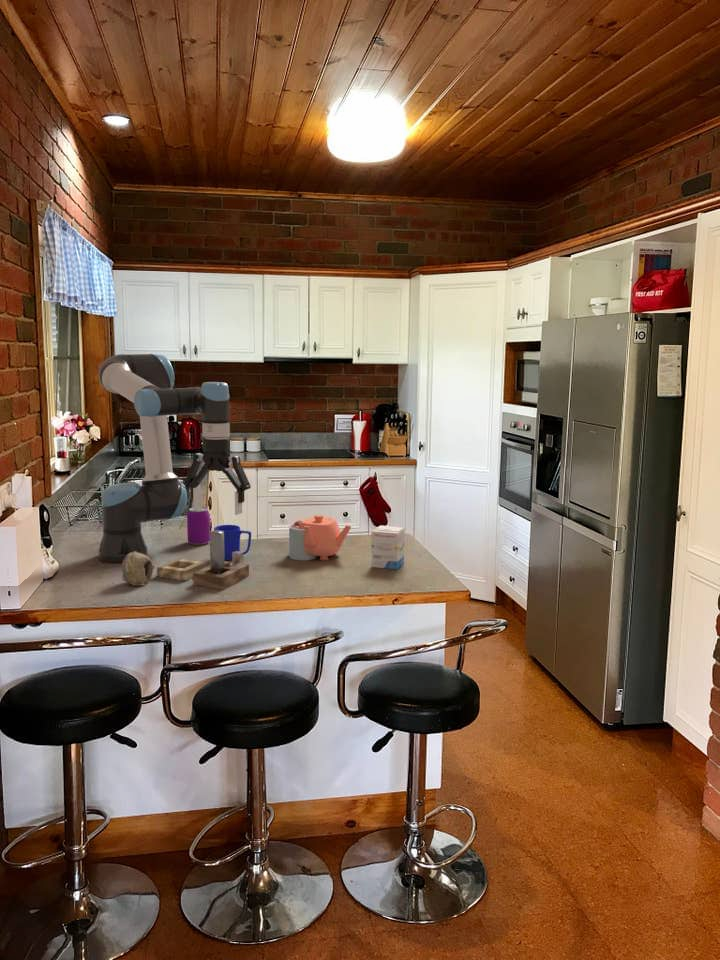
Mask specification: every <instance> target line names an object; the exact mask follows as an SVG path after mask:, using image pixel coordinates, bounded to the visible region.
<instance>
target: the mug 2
mask: <svg viewBox="0 0 720 960" xmlns="http://www.w3.org/2000/svg"><path fill="white" fill-rule="evenodd" d="M300 524H301V523H298V524H294V523H292V524H290V525H289V527H288V531H289V534H288V538H289V539H288V542H289V543H288V544H289V545H288V548H289V551H288V552H289V558H290V559H291V560H294V561H295V560H296V561H310V560H311V561H312V560H315V559H316V558H318V557H319V556H314V555H308V554H307V552H306V551H305V549H304V546H305V545H304V534H305V529H300V528H299V526H300Z"/></svg>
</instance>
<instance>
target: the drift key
mask: <svg viewBox="0 0 720 960" xmlns="http://www.w3.org/2000/svg"><path fill="white" fill-rule="evenodd" d="M240 551H241V550H240ZM240 551H235V552H233V553H232V564H230V566H229V568H230V567H232V566H234V565H236V564H238V563H241V564H245V563H244V559H245V557H244V555H245V554H243V552H244V551H241V552H240Z"/></svg>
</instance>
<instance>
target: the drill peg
mask: <svg viewBox="0 0 720 960" xmlns="http://www.w3.org/2000/svg"><path fill="white" fill-rule="evenodd" d="M209 555H210V556H209V557H210V559H209V561H210V564H209V565H211V573H214V574H223V573H225V561H226V560H224V531H221V530H214V529H213V530H210V541H209Z"/></svg>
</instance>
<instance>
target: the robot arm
mask: <svg viewBox="0 0 720 960" xmlns="http://www.w3.org/2000/svg"><path fill="white" fill-rule="evenodd" d="M174 371H175V370H174V368H173V366H172V363H171V362H170V360H169V359H168V357H166V356H165V355H162V354H153V353H149V354H148V353H147V354H145V353H144V354H139V353H138V354H135V353H134V354H123V353H121V354H115V355H113V356H110V357H108V358H106V359H105V360H104V361H103V362H102V363H101V364H100V366H99V369H98V373H97V378H98V381H99V384H100V385H101V387H103V388H104V389H105V390H107V391H108V392H110V393H113V394H119V395H120V396H122V397H124V398H126V399H127V400H128V401H130V402H131V403H133V407H134V409H135V411H136V413H137V414H138V416H139V422H140V431H141V440H142V441H141V442H142V451H143V458H144V459H143V461H144V469H145V476H144V477H143V478H142V479H141V485H142V486H140V484H139V483H138V482H133V481H129V482H120V483H115V484H112V485H109V486H107V487H105V488H104V489H103V490H102V492H101V503H100V506H101V512H102V513H101V515H102V516H101V518H102V538H101V541H100V544H99V545H100V546H99V548H98V554H97V555H98V560H99V561H101V562H104V563H114V564H115V563H117V564H118V563H121V564H122V563H123V560H124V558H125V557H126V556H127V555H128V554H129V553H133V552H134V551H135V552H138V553H141V554H144V555H146V556H147V557H148V552H149V551H148V546H147V545H146V542H145V539H144V535H143V534H142V523H147V522H154V521H155V522H156V521H162V520H171V519H175V518H179V517H181V515H183V513H184V512H185V510H186V507H187V502H188V494H187V493H188V492H187V489H186V486H189V487H190V497H191V499H193V501H192V502H193V507H194V510H195V511H196V510H199V509H201V507H202V489H201V488H202V487H201V486H200V483H201V482H202V481H203V479H204V478H205V477H206V475H207V474H208V473H209V472H211V471H213V472H214V471H216V472H222V473H223V474H224V475H226V477H227V479H228V480H229V481H230V483H231V484H232V485H233V487H234V488H235V490H236V491H234V515H236V516H238V515H241V514H243V503H244V502H245V491H247V490H250V489H251V487H252V486H251V483H250V481H249V479H248V477H247V474H246V473H245V470H244V468H243V466H242V463H241V457H240V455H235V456H230V451H231V439H230V438H229V437H230V433H231V431H230V430H231V429H230V428H231V427H230V426H231V425H230V393H229V392H230V391H229V385H228V383H226V382H223V381H221V382H220V381H207V382H206V381H205V382H202V384H201V387H200V386H189V387H176V388H174V386H175V372H174ZM179 415H181V416H183V415H201V424H202V427H201V429H202V437H204V438H203V439H202V451H203V454H202V452H198V453H197V452H196V453H194V454H193V455H192V456H193V457H192V463H191V466H190V468H189V469H188V472H187V475H186V478H185V480H184V483H183V482H181V481H179V476H178V475H176V474H175V473H174V471H173V461H172V452H171V442H170V434H169V433H170V432H169V424H168V423H169V422H168V416H179ZM202 461H203V462H204V464H203V466H201V463H202ZM231 464H232V466H231ZM200 466H201V468H200ZM199 468H200V470H199ZM198 470H199V472H198ZM233 470H234V471H233ZM185 485H186V486H185Z"/></svg>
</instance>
